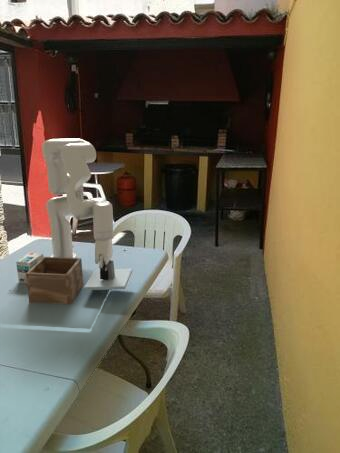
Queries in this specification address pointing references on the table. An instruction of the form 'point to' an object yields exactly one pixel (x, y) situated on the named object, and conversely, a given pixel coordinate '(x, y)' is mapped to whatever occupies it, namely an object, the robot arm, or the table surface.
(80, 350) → the table surface
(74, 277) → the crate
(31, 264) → the light bulb box
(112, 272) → the lid
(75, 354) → the table surface
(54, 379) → the table surface
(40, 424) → the table surface
